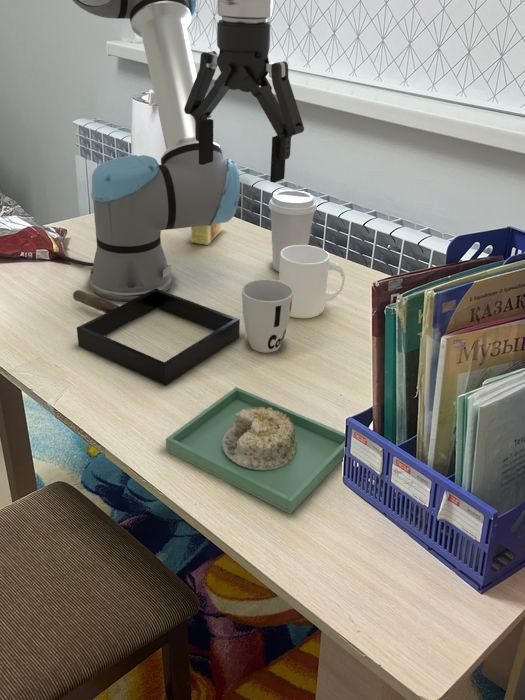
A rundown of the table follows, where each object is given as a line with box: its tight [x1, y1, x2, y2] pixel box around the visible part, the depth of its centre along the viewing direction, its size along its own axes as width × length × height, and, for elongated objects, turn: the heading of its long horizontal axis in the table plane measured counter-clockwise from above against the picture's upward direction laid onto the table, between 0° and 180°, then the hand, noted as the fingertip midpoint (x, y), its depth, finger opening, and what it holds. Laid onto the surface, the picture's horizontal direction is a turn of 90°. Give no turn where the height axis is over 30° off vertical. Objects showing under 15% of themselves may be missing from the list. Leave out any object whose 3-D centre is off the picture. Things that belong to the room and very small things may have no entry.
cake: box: [222, 407, 297, 471], centre depth 89 cm, size 10×10×5 cm
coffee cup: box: [267, 189, 318, 273], centre depth 138 cm, size 10×10×15 cm
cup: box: [241, 278, 293, 353], centre depth 112 cm, size 8×8×10 cm
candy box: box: [190, 223, 222, 246], centre depth 150 cm, size 9×4×15 cm, turn 164°
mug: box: [278, 244, 346, 319], centre depth 124 cm, size 9×12×11 cm
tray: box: [165, 386, 346, 515], centre depth 90 cm, size 19×15×2 cm
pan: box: [72, 288, 241, 386], centre depth 115 cm, size 29×19×4 cm, turn 56°
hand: (240, 171), depth 107 cm, fingers open, 13 cm apart
